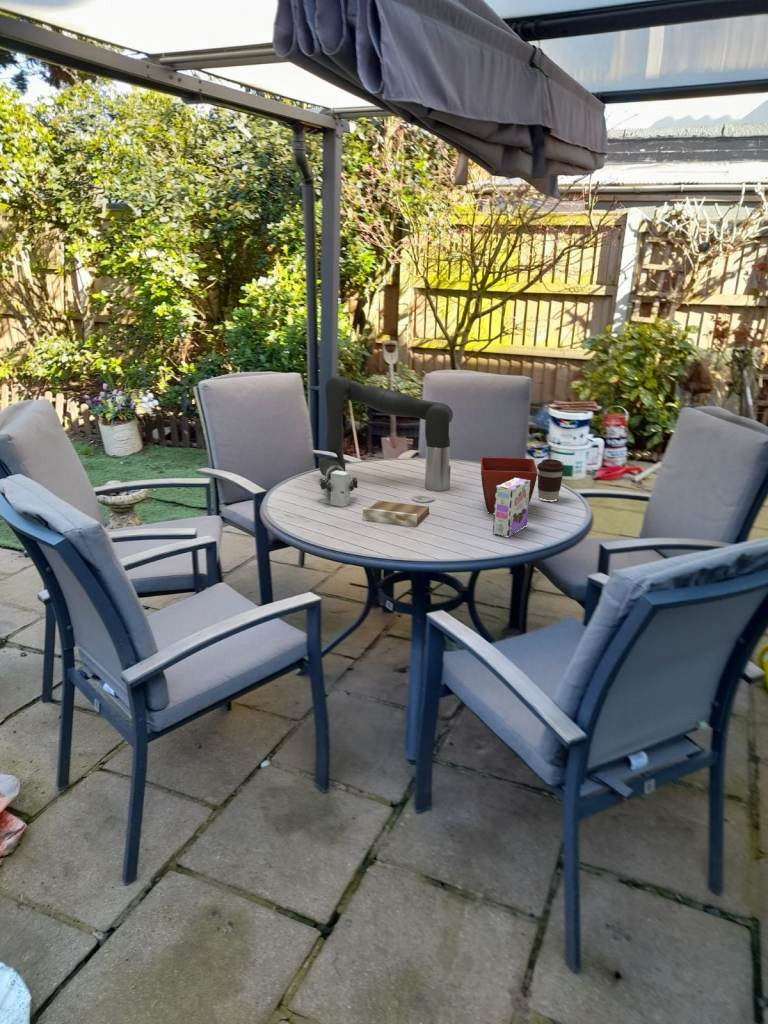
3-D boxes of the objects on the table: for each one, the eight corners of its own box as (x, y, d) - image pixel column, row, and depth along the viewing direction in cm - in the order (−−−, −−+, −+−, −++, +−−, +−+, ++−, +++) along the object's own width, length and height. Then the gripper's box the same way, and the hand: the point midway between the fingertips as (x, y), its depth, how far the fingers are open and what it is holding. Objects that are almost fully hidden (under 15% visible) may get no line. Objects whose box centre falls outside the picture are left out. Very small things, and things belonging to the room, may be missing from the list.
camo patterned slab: (428, 513, 236) (429, 502, 235) (415, 527, 222) (415, 515, 221) (378, 507, 242) (378, 496, 241) (362, 520, 229) (362, 509, 227)
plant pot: (478, 516, 234) (480, 469, 228) (478, 500, 252) (480, 456, 246) (534, 519, 231) (538, 472, 226) (530, 502, 249) (533, 458, 244)
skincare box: (329, 504, 245) (329, 472, 241) (336, 501, 248) (336, 469, 245) (344, 507, 242) (344, 475, 238) (350, 504, 246) (350, 472, 242)
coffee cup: (564, 503, 248) (568, 464, 244) (537, 503, 248) (541, 464, 244) (557, 496, 258) (561, 458, 253) (532, 495, 258) (535, 457, 253)
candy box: (508, 538, 213) (511, 488, 208) (491, 534, 216) (494, 485, 211) (527, 527, 223) (531, 479, 218) (511, 523, 227) (515, 476, 222)
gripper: (317, 468, 254) (320, 479, 239) (355, 466, 257) (360, 478, 241) (317, 487, 257) (321, 499, 241) (355, 485, 259) (360, 498, 243)
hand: (340, 488), depth 241 cm, fingers closed on skincare box, 7 cm apart
